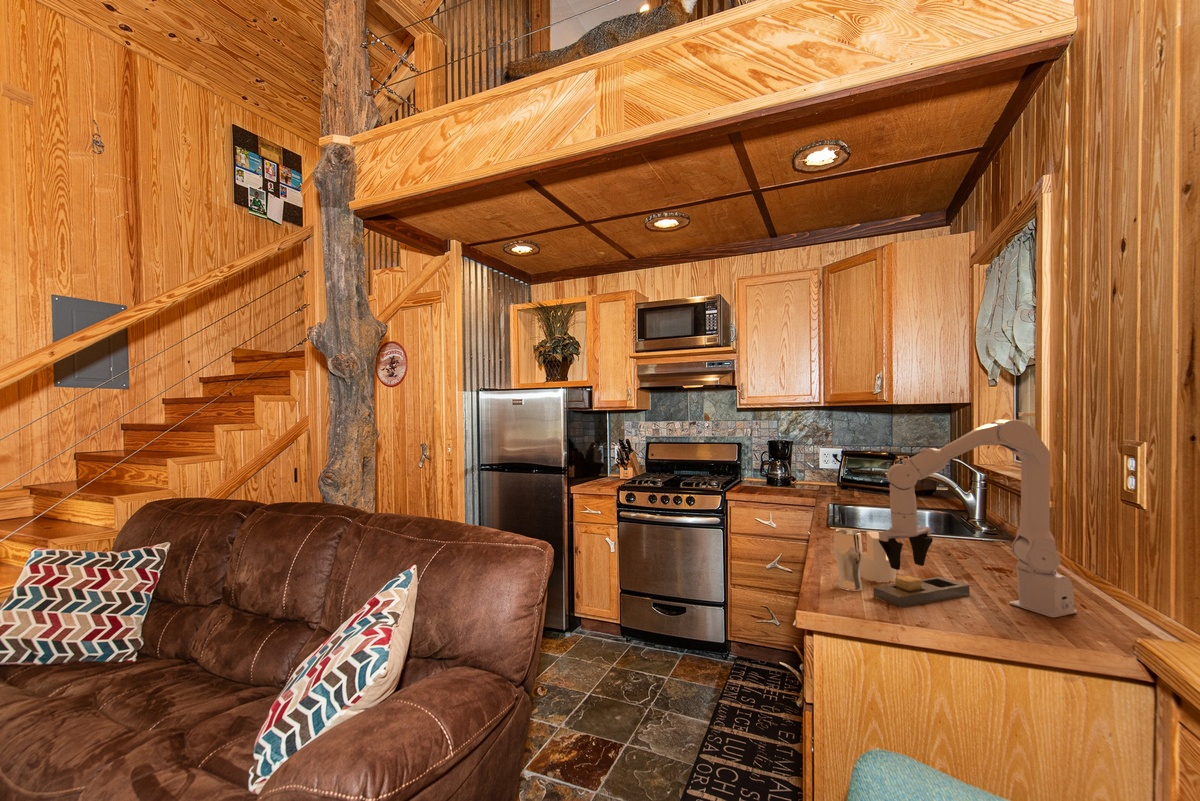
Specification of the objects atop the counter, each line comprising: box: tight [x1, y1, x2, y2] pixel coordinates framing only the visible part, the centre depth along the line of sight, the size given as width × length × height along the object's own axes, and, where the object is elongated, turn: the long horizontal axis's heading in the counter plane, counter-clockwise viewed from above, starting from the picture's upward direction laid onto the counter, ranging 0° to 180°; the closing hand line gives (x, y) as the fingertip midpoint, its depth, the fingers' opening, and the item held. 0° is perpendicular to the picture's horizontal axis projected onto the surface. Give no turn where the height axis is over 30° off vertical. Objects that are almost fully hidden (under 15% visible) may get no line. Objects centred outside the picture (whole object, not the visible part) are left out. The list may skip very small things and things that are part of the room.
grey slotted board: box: [872, 575, 971, 609], centre depth 132 cm, size 22×8×2 cm, turn 107°
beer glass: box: [833, 528, 864, 591], centre depth 140 cm, size 7×7×15 cm
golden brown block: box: [894, 574, 922, 593], centre depth 131 cm, size 4×4×5 cm
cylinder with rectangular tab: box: [861, 530, 897, 583], centre depth 148 cm, size 9×9×12 cm
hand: (907, 566), depth 131 cm, fingers open, 7 cm apart
